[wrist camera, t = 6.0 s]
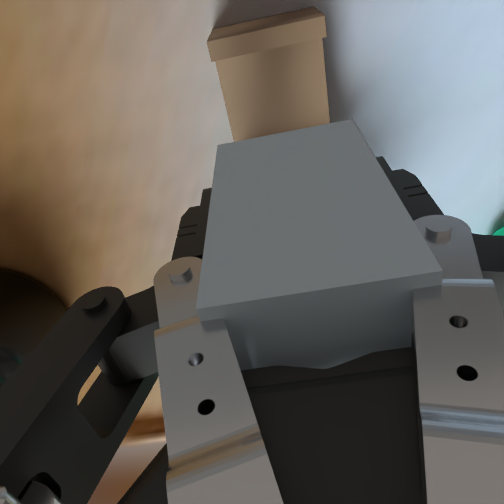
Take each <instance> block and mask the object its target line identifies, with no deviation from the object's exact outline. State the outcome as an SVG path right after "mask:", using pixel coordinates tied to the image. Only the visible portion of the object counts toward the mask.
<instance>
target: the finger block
mask: <svg viewBox="0 0 504 504" xmlns="http://www.w3.org/2000/svg"><path fill="white" fill-rule="evenodd" d="M442 277H443V270H442V268H441V266H440V265H439V263H438V261H437V260H436V258H435V256H434V255H433V253H432V251H431V250H430V248H429V246H428V245H427V243H426V241H425V240H424V238H423V236H422V235H421V233H420V231H419V230H418V228H417V226H416V225H415V223H414V221H413V220H412V218H411V216H410V215H409V213H408V211H407V210H406V208H405V206H404V205H403V203H402V201H401V199H400V198H399V196H398V194H397V193H396V191H395V189H394V188H393V186H392V184H391V183H390V181H389V179H388V178H387V176H386V174H385V173H384V171H383V169H382V168H381V166H380V164H379V163H378V161H377V159H376V158H375V156H374V154H373V153H372V151H371V149H370V148H369V146H368V144H367V143H366V141H365V139H364V138H363V136H362V134H361V132H360V131H359V129H358V127H357V126H356V124H355V122H354V121H353V119H349V120H344V121H339V122H334V123H329V124H323V125H318V126H313V127H308V128H303V129H298V130H293V131H288V132H283V133H278V134H272V135H267V136H262V137H257V138H252V139H247V140H242V141H237V142H232V143H227V144H221V145H218V147H217V154H216V162H215V169H214V177H213V184H212V191H211V199H210V206H209V214H208V221H207V229H206V236H205V244H204V251H203V258H202V266H201V273H200V281H199V288H198V296H197V303H196V311H197V314H198V316H199V319H200V322H201V321H207V320H213V319H220V318H224V321H225V324H226V327H227V330H228V333H229V336H230V339H231V342H232V345H233V348H234V351H235V354H236V357H237V360H238V363H239V366H240V369H241V370H247V369H255V368H262V367H269V366H276V365H280V366H293V367H306V368H318V369H327V368H331V367H334V366H337V365H340V364H342V363H345V362H348V361H351V360H353V359H356V358H359V357H361V356H364V355H367V354H369V353H372V352H377V351H384V350H391V349H399V348H406V347H411V318H412V289H417V288H423V287H430V286H437V285H442Z"/></svg>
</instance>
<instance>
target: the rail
mask: <svg viewBox="0 0 504 504" xmlns="http://www.w3.org/2000/svg"><path fill="white" fill-rule="evenodd" d="M324 37H327V35H326V24H325V15H324V14H323V13H322V12H320V11H318V10H317V9H316V8H315V7H314V6H313V7H309V8H305V9H300V10H296V11H291V12H287V13H282V14H278V15H273V16H269V17H265V18H260V19H256V20H251V21H247V22H242V23H238V24H234V25H229V26H225V27H220V28H216V29H212V32H211V34H210V35H209V38H208V40H207V45H208V49H209V53H210V58H211V62H213V61H215V62H216V66H217V71H218V75H219V79H220V84H221V88H222V92H223V96H224V101H225V105H226V109H227V114H228V118H229V122H230V126H231V131H232V135H233V139H234V142H237V141H242V140H247V139H252V138H257V137H262V136H267V135H272V134H278V133H283V132H288V131H293V130H298V129H303V128H308V127H313V126H318V125H323V124H329V123H330V118H329V107H328V96H327V85H326V74H325V63H324V52H323V41H322V38H324Z"/></svg>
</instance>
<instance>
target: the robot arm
mask: <svg viewBox="0 0 504 504" xmlns="http://www.w3.org/2000/svg"><path fill="white" fill-rule="evenodd" d="M375 158H376V159H377V161H378V163H379V164H380V166H381V168H382V169H383V171H384V173H385V174H386V176H387V178H388V179H389V181H390V183H391V184H392V186H393V188H394V189H395V191H396V193H397V194H398V196H399V198H400V199H401V201H402V203H403V205H404V206H405V208H406V210H407V211H408V213H409V215H410V216H411V218H412V220H413V221H414V223H415V225H416V226H417V228H418V230H419V231H420V233H421V235H422V236H423V238H424V240H425V241H426V243H427V245H428V246H429V248H430V250H431V251H432V253H433V255H434V256H435V258H436V260H437V261H438V263H439V265H440V266H441V268H442V270H443V277H442V285H437V286H430V287H423V288H417V289H412V318H411V347H406V348H399V349H391V350H384V351H377V352H372V353H369V354H367V355H364V356H361V357H359V358H356V359H353V360H351V361H348V362H345V363H342V364H340V365H337V366H334V367H331V368H327V369H318V368H306V367H293V366H280V365H276V366H269V367H262V368H255V369H247V370H241V369H240V366H239V363H238V360H237V357H236V354H235V351H234V348H233V345H232V342H231V339H230V336H229V333H228V330H227V327H226V324H225V321H224V318H220V319H213V320H207V321H201V322H200V319H199V316H198V314H197V311H196V303H197V296H198V288H199V281H200V273H201V266H202V258H203V251H204V244H205V236H206V229H207V221H208V214H209V206H210V199H211V191H212V188H208V189H203V193H202V198H201V204H200V206H195V207H190V208H189V209H188V210H187V211H186V213H185V214H184V215H183V216H182V217H181V221H180V225H179V230H178V234H177V238H176V243H175V247H174V251H173V256H172V260H171V261H170V262H168V263H167V264H165V265H164V266H162V267H161V268H160V269H159V270H158V271H157V273H156V274H155V276H154V286H152V287H150V288H149V289H146V290H144V291H142V292H139V293H136V294H134V295H131V296H129V297H126V298H125V297H124V295H123V293H122V291H121V290H120V289H118V288H116V287H101V288H97V289H94V290H92V291H89V292H88V293H86V294H84V295H83V296H81V297H80V298H79V299H77V300H76V301H75V302H74V303H73V304H72V306H71V307H70V308H69V309H68V310H67V311H66V312H65V314H64V315H63V316H62V317H61V318H60V319H59V320H58V322H57V323H56V324H55V325H54V326H53V327H52V329H51V330H50V331H49V332H48V333H47V334H46V335H45V337H44V338H43V339H42V340H41V341H40V342H39V343H38V345H37V346H36V347H35V348H34V349H33V350H32V352H31V353H30V354H29V355H28V356H27V357H26V358H25V360H24V361H23V362H22V363H21V364H20V365H19V366H18V368H17V369H16V370H15V371H14V372H13V373H12V374H11V376H10V377H9V378H8V379H7V380H6V381H5V383H4V384H3V385H2V386H1V387H0V504H87V503H88V501H89V499H90V497H91V495H92V494H93V492H94V490H95V488H96V487H97V485H98V483H99V481H100V480H101V478H102V476H103V474H104V473H105V471H106V469H107V467H108V465H109V464H110V462H111V460H112V458H113V456H114V455H115V453H116V451H117V449H118V448H119V446H120V444H121V442H122V441H123V439H124V437H125V435H126V433H127V432H128V430H129V428H130V426H131V425H132V423H133V421H134V419H135V417H136V416H137V414H138V412H139V410H140V408H141V407H142V405H143V403H144V401H145V400H146V398H147V396H148V394H149V392H150V391H151V389H152V387H153V385H154V384H155V382H156V380H157V378H158V376H159V382H160V390H161V399H162V408H163V416H164V425H165V433H166V442H167V443H166V444H165V445H164V447H163V448H162V449H161V450H160V451H159V453H158V454H157V456H155V458H154V459H153V460H152V461H151V463H150V464H149V465H148V466H147V468H146V469H145V470H144V471H143V472H142V474H141V475H140V476H139V477H138V479H137V480H136V481H135V482H134V483H133V485H132V486H131V487H130V488H129V490H128V491H127V492H126V493H125V495H124V496H123V497H122V498H121V500H120V501H119V502H118V503H117V504H504V236H498V235H479V234H473V233H471V229H470V227H469V226H468V225H467V224H466V223H465V222H464V221H462V220H460V219H458V218H455V217H452V216H447V215H444V214H443V213H442V211H441V210H440V208H439V207H438V206H437V204H436V203H435V202H434V200H433V199H432V197H431V196H430V195H429V194H428V192H427V190H426V189H425V188H424V186H422V184H421V182H420V181H419V179H418V178H417V177H416V175H414V174H412V173H410V172H408V171H406V170H404V169H400V170H394V171H392V170H391V169H390V167H389V165H388V164H387V162H386V161H385V159H384V158H383V157H382V156H381V157H375ZM97 365H98V366H99V367H100V369H101V370H102V372H101V373H100V374H99V376H98V377H97V379H96V380H95V382H94V383H93V385H92V386H91V388H90V389H89V390H88V392H87V393H86V395H85V396H84V398H83V399H82V401H81V402H80V404H79V405H77V399H78V394H79V391H80V389H81V388H82V386H83V384H84V383H85V382H86V380H87V379H88V377H89V376H90V375H91V373H92V372H93V370H94V369H95V367H96V366H97Z"/></svg>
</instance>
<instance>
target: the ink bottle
mask: <svg viewBox="0 0 504 504" xmlns="http://www.w3.org/2000/svg"><path fill="white" fill-rule="evenodd" d="M66 311H67V310H66V308H65V307H64V305H63V304H62V303H61V301H60V300H59V299H58V298H57V297H56V296H55V295H54V294H53V293H52V292H51V291H49V290H48V289H47V288H46V287H44V286H43V285H41V284H40V283H38V282H36V281H35V280H33V279H31V278H29V277H27V276H24V275H22V274H19V273H16V272H13V271H9V270H3V269H0V387H1V386H2V385H3V384H4V383H5V381H6V380H7V379H8V378H9V377H10V376H11V374H12V373H13V372H14V371H15V370H16V369H17V368H18V366H19V365H20V364H21V363H22V362H23V361H24V360H25V358H26V357H27V356H28V355H29V354H30V353H31V352H32V350H33V349H34V348H35V347H36V346H37V345H38V343H39V342H40V341H41V340H42V339H43V338H44V337H45V335H46V334H47V333H48V332H49V331H50V330H51V329H52V327H53V326H54V325H55V324H56V323H57V322H58V320H59V319H60V318H61V317H62V316H63V315H64V314H65V312H66Z"/></svg>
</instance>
